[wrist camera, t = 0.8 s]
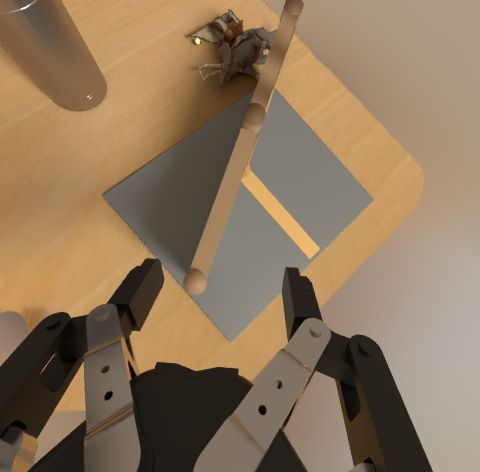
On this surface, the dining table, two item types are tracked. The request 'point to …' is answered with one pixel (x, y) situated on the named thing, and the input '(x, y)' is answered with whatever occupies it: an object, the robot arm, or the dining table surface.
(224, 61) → the figurine
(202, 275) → the fence gate
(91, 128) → the dining table surface
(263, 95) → the post
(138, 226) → the card
